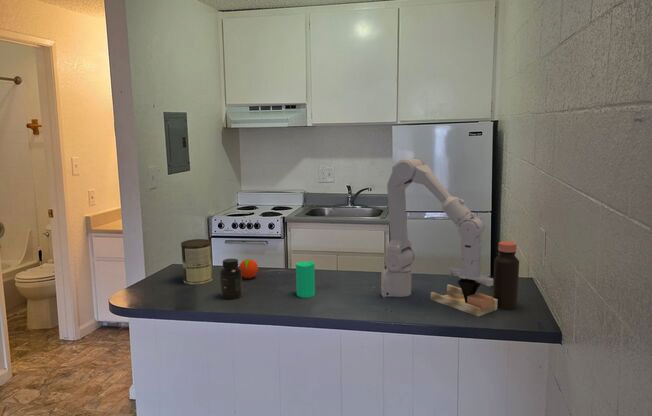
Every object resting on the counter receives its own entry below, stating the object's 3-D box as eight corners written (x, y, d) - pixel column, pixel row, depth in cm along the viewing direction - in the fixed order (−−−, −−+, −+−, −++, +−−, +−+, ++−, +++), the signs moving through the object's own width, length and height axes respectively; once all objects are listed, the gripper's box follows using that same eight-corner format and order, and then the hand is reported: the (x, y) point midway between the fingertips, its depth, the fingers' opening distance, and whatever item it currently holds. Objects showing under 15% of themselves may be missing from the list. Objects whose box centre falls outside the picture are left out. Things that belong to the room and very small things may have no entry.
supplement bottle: (216, 297, 160) (214, 261, 158) (232, 291, 166) (231, 256, 164) (231, 301, 156) (229, 264, 154) (246, 295, 161) (245, 259, 160)
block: (467, 309, 143) (467, 296, 142) (477, 305, 146) (478, 292, 145) (481, 314, 139) (482, 300, 138) (492, 310, 142) (492, 297, 141)
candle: (318, 292, 163) (317, 257, 161) (309, 298, 157) (309, 261, 156) (301, 290, 165) (301, 255, 163) (293, 296, 160) (292, 260, 158)
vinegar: (521, 310, 145) (525, 243, 142) (506, 315, 141) (510, 247, 138) (502, 303, 150) (505, 239, 147) (487, 308, 147) (490, 242, 144)
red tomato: (256, 281, 176) (255, 262, 174) (237, 281, 176) (236, 262, 175) (259, 275, 184) (259, 256, 182) (241, 275, 184) (240, 256, 182)
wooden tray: (430, 303, 152) (430, 290, 151) (463, 292, 161) (463, 280, 160) (478, 320, 138) (478, 306, 137) (511, 307, 147) (511, 294, 146)
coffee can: (177, 281, 177) (174, 243, 175) (199, 274, 185) (197, 237, 183) (196, 286, 171) (193, 246, 169) (218, 279, 179) (216, 241, 177)
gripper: (441, 256, 146) (440, 300, 149) (483, 266, 135) (481, 314, 137) (457, 252, 151) (455, 295, 153) (498, 262, 139) (496, 308, 141)
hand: (468, 303), depth 145 cm, fingers closed
